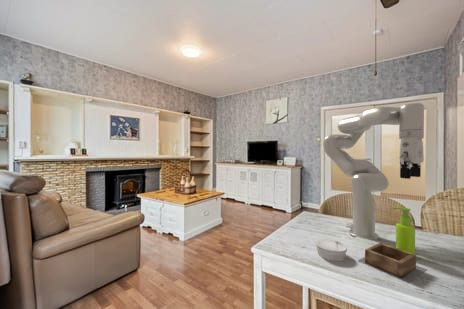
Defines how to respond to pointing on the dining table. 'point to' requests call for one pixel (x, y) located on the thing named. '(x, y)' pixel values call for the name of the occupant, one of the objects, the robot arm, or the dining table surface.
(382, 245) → the walnut box
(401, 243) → the soap dispenser
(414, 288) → the dining table surface
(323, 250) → the ramekin
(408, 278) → the pale grey square slab
